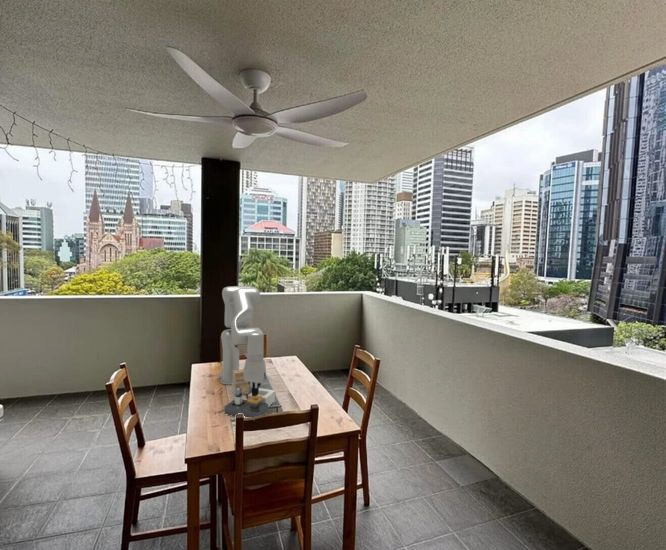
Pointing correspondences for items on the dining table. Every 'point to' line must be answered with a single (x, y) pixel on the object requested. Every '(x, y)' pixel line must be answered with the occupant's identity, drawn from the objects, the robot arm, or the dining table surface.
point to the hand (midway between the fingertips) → (255, 395)
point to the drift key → (254, 401)
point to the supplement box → (239, 382)
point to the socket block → (245, 409)
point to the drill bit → (238, 395)
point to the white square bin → (266, 396)
